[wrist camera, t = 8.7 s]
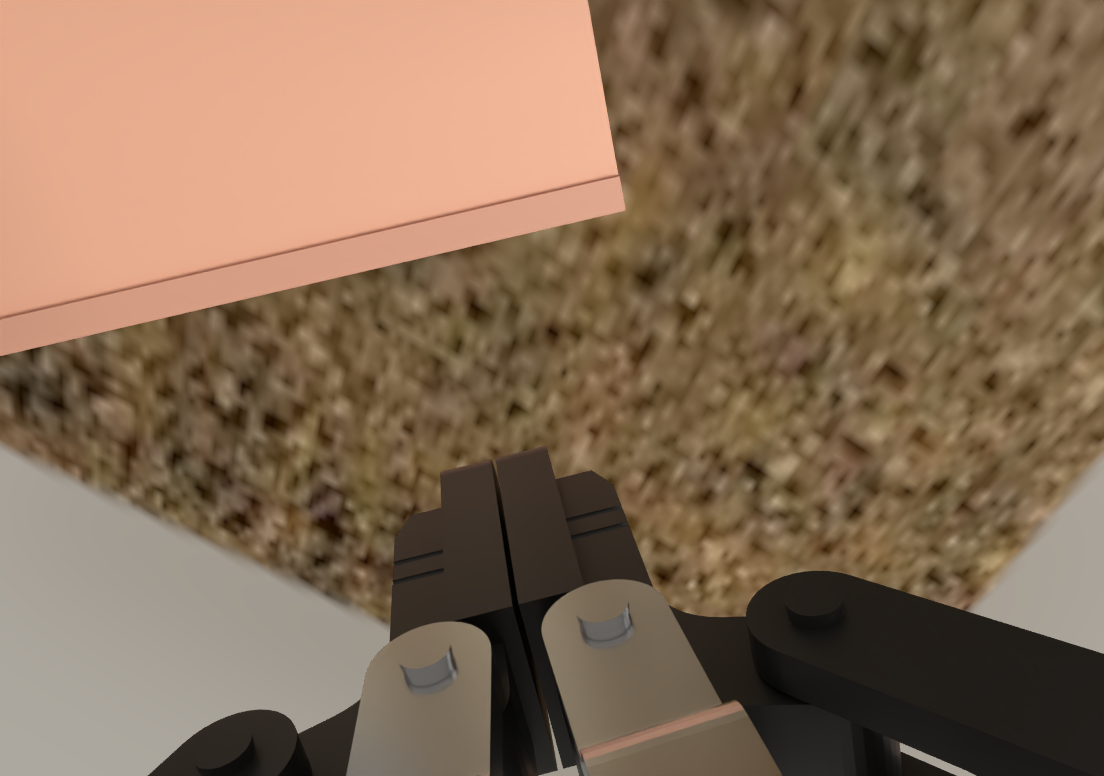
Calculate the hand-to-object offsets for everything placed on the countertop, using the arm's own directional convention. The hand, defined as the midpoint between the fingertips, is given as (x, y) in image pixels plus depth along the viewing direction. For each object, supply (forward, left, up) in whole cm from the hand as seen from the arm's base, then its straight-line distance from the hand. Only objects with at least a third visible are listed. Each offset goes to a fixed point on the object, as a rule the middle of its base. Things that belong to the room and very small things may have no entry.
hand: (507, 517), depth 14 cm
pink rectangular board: (+8, -7, -16) cm, 19 cm away
